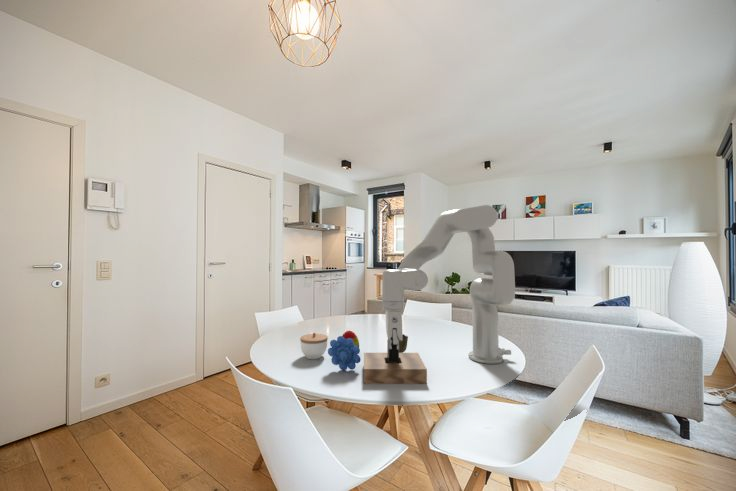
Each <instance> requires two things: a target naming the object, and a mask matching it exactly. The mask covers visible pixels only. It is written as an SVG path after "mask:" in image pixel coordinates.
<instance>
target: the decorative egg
mask: <svg viewBox="0 0 736 491" xmlns="http://www.w3.org/2000/svg"><path fill="white" fill-rule="evenodd" d="M341 336H343V337H344V338H345V341H346V339H348V338H350V339H352V340H353V341H354V345H355V346H358V347H359V348H360V342H359V341H360V340H359V339H358V336H357V334H356V333H355V332H354V331H352V330H346V331H345V332H344V333H343V334H342V335H341ZM354 345H353V346H354Z"/></svg>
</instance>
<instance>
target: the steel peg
mask: <svg viewBox="0 0 736 491" xmlns="http://www.w3.org/2000/svg"><path fill="white" fill-rule="evenodd" d="M391 340H393V338H391ZM386 343H387V347H386V348H387V350H386V353H387V363H399V361H398V362H390V361H389V349H390V341H389V340H388V339H387V342H386ZM392 343H393V342H392ZM398 349H399V340H398Z"/></svg>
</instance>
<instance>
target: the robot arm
mask: <svg viewBox="0 0 736 491" xmlns="http://www.w3.org/2000/svg"><path fill="white" fill-rule="evenodd" d="M497 221H498V212H497V210H496V209H495V207H493V206H492V205H489V204H484V205H476V206H472V207H464V208H458V209H457V208H456V209H452V210H448V211H444V212H442V213H441V214H439V215H438V217H437V218H436V220H435V221H434V223H433V224H432V226H431V227H430V229H429V231H428V232H427V234H426V235H425V237H424V238H423V240H422V241H421V242H420V243H418V244H417V245H416V246H415V248H413V249H412V250H411V251H409V253H408V254H406V256H405V257H404V258H403V259H402V261H401V263H400V265H399V266H398V268H397V269H390V268H389V269H384V270H383V271H382V276H381V279H382V294H381V295H382V297H381V298H382V299H381V300H382V301H381V304H382V305H381V306H382V311H385V330H386V338H387V340H389V341H390V349H389V361H390V362H398V361H399V349H398V338H399V340H400V341H402V340H403V315H402V314H403V313H402V312H403V311H404V310H405V290H406V291H415V292H416V291H417V292H418V291H421V290H423V289H425V288H426V286H427V285H428V282H429V278H428V275H427V273H426V272H425V271H424V270H421V267H422V266H424V265H425V264H426V263H427V262H429V261H432V260H433V259H436V258H438V257H439V256H441V255H442V254H443V253H444V252H445V250H446V249H447V247H448V245H449V244H450V242H451V240H452V238H453V237H454V236H455V234H459V233H467V234H468V236H469V239H470V242H471V252H472V253H471V254H472V255H471V257H472V258H471V259H472V268H473V271H474V272H475V273H476V274H479V275H483V276H491V277H492V278H490V277H488V278H487V277H479V278H476V279H474V280H473V281H472V282H471V284H470V286H469V295H470V300H471V306H472V308H471V309H472V351H469V353H468V358H469V359H470V360H472V361H474V362H478V363H481V364H488V365H489V364H490V365H495V364H501V363H502V362H503V361H504V357H503V356H504V355H506V356H511V355H512V350H511V349H505V348H500V347H499V312H498V309H497V306H501V307H502V306H504V307H505V306H508V305H509V306H510V305H511V304H512V303H513V301H514V300H515V297H516V296H515V294H516V281H515V280H516V277H515V276H516V275H515V264H514V260H513V258H512V256H511V255H510V254H509V253H508V252H506V251H504V250H496V246H495V245H496V244H495V237H494V234H493V232H492V230H491V229H490V228H491V227H493V226H494V225H495V224H496V222H497ZM391 338H393V340H391ZM392 342H393V343H392Z"/></svg>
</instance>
